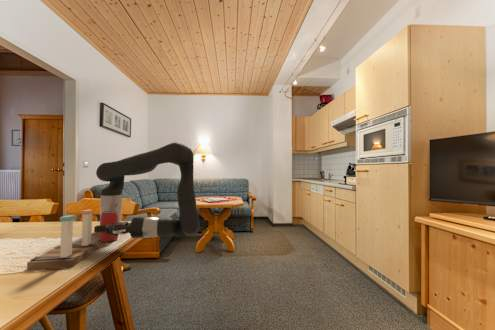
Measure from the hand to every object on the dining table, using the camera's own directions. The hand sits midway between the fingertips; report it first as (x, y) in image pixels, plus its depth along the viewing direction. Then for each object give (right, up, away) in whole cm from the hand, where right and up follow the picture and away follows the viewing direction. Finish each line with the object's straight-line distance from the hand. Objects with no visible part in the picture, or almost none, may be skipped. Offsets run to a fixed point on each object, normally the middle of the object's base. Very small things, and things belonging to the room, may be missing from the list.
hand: (95, 229), depth 87 cm
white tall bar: (-3, -5, -1) cm, 6 cm away
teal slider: (-1, -5, -13) cm, 14 cm away
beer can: (-3, -9, +14) cm, 17 cm away
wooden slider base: (-5, -8, -7) cm, 12 cm away
